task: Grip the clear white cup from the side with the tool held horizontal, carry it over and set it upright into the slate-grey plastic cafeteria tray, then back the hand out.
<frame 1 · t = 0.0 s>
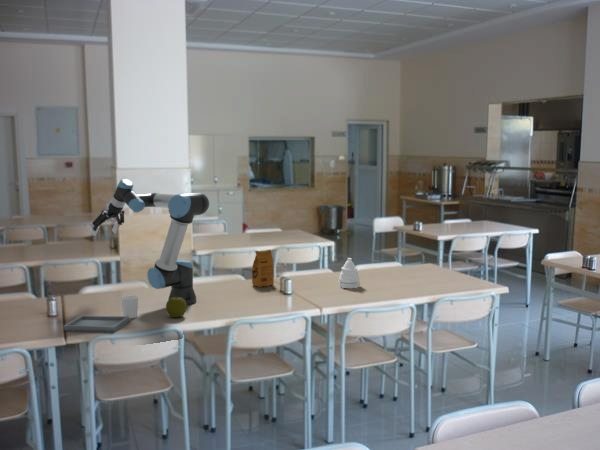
hand: (103, 233, 344), 36 cm above the table, tool tilted 35°, fingers open, 13 cm apart
white cup: (130, 317, 303), on the table
tray: (97, 326, 286), on the table
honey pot: (349, 287, 371), on the table
coffee package: (262, 285, 374), on the table
apple: (176, 317, 302), on the table
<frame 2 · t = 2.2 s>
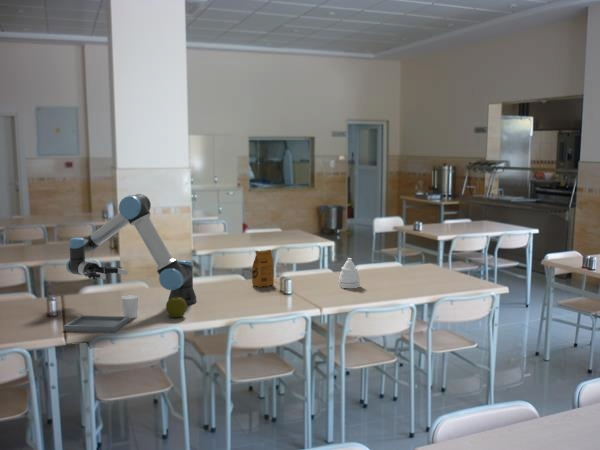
hand: (116, 274, 306), 20 cm above the table, tool horizontal, fingers open, 13 cm apart
nothing on the table moved.
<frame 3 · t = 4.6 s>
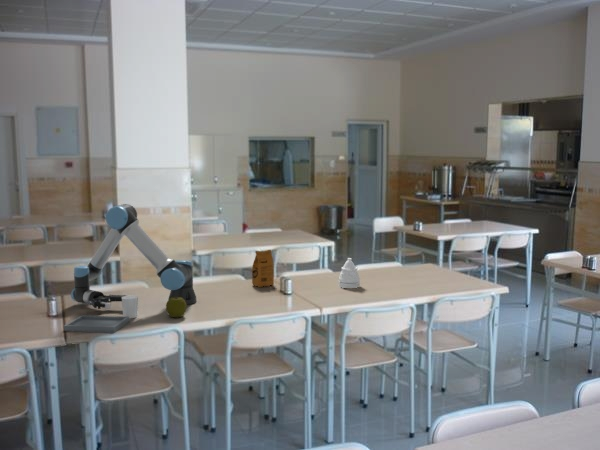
hand: (121, 303, 305), 6 cm above the table, tool horizontal, fingers open, 13 cm apart
nothing on the table moved.
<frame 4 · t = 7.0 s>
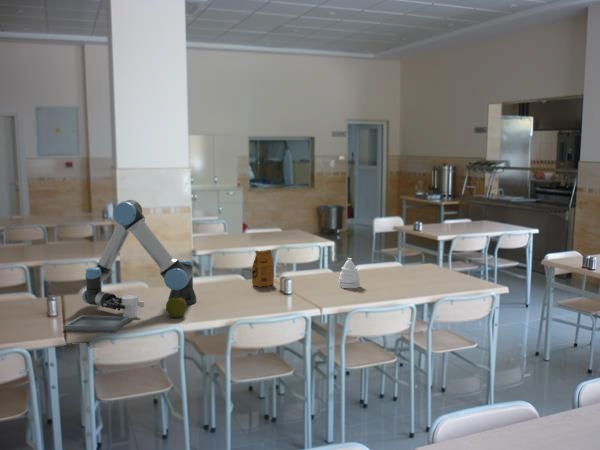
hand: (136, 306, 299), 6 cm above the table, tool horizontal, fingers closed on white cup, 8 cm apart
white cup: (130, 317, 303), on the table, touching gripper
everything else where it was.
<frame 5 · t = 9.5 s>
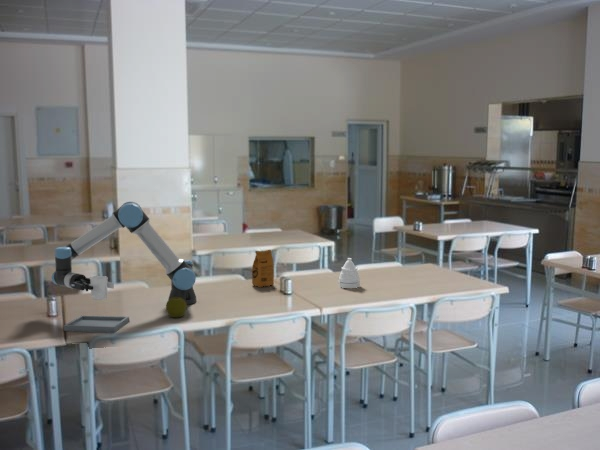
hand: (105, 287, 284), 19 cm above the table, tool horizontal, fingers closed on white cup, 8 cm apart
white cup: (99, 298, 288), point 12 cm above the table, touching gripper
everything else where it was.
when the fingers open (8 cm above the table, at t = 12.4 s): white cup drops 1 cm, resting on tray.
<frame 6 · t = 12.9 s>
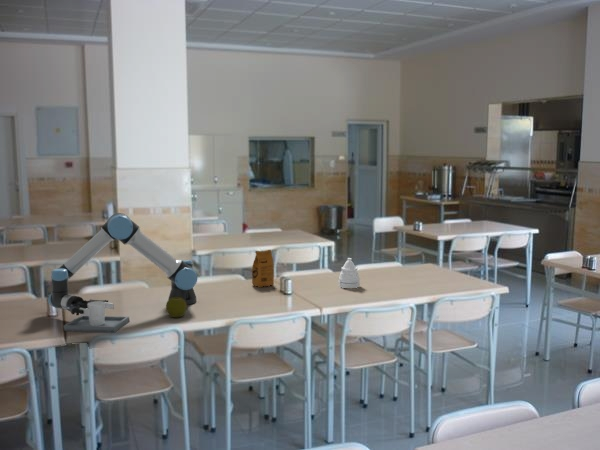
hand: (101, 309, 283), 8 cm above the table, tool horizontal, fingers open, 13 cm apart
white cup: (97, 324, 286), point 1 cm above the table, touching tray
everything else where it was.
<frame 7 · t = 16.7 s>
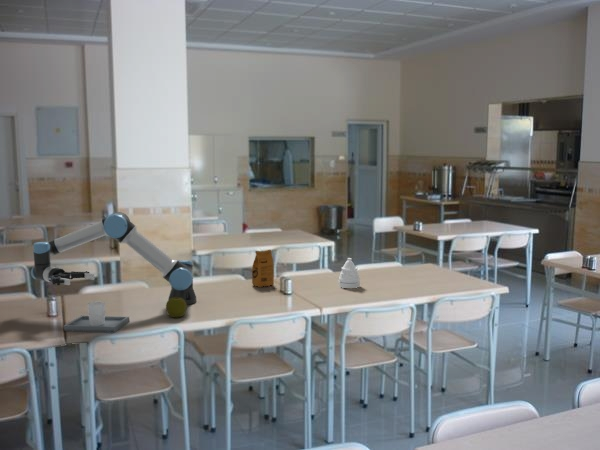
hand: (81, 279, 289), 21 cm above the table, tool horizontal, fingers open, 13 cm apart
nothing on the table moved.
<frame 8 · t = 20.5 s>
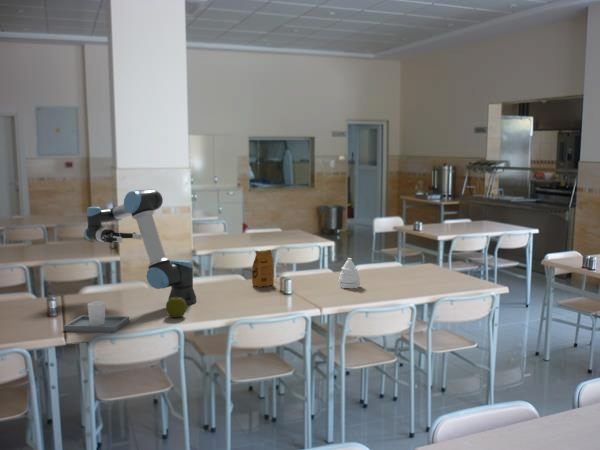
hand: (131, 238, 330), 35 cm above the table, tool horizontal, fingers open, 13 cm apart
nothing on the table moved.
at the end: white cup inside the target area on the tray (0.1 cm from its centre), point 0.8 cm above the tray's base; white cup tilted 0°; the gripper is holding nothing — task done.
